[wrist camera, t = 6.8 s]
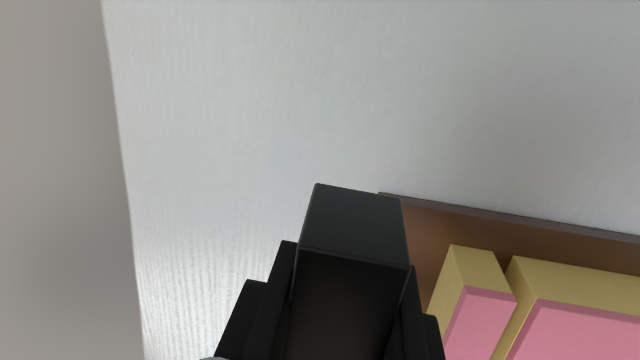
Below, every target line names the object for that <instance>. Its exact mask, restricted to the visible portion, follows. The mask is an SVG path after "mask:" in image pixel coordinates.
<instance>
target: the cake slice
mask: <svg viewBox="0 0 640 360" xmlns="http://www.w3.org/2000/svg"><path fill="white" fill-rule="evenodd" d="M516 305H517V301H516V299H515V297H514V295H513V293H512V291H511V289H510V286H509V284H508V282H507V280H506V278H505V276H504V274H503V272H502V270H501V268H500V266H499V264H498V261H497V259H496V257H495V255H494V253H493V252H492V251H487V250H481V249H476V248H470V247H464V246H458V245H453V244H451V245H450V247H449V250H448V253H447V256H446V258H445V261H444V264H443V267H442V270H441V272H440V275H439V278H438V281H437V284H436V286H435V289H434V292H433V295H432V298H431V300H430V303H429V306H428V309H427V312H426V314H430V315H435V316H436V318H437V320H438V324H439V329H440V334H441V338H442V343H443V348H444V353H445V357H446V360H489V359H490V357H491V355H492V353H493V351H494V349H495V347H496V345H497V343H498V341H499V339H500V337H501V335H502V333H503V331H504V329H505V327H506V325H507V323H508V321H509V319H510V317H511V315H512V313H513V311H514V309H515V307H516Z"/></svg>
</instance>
